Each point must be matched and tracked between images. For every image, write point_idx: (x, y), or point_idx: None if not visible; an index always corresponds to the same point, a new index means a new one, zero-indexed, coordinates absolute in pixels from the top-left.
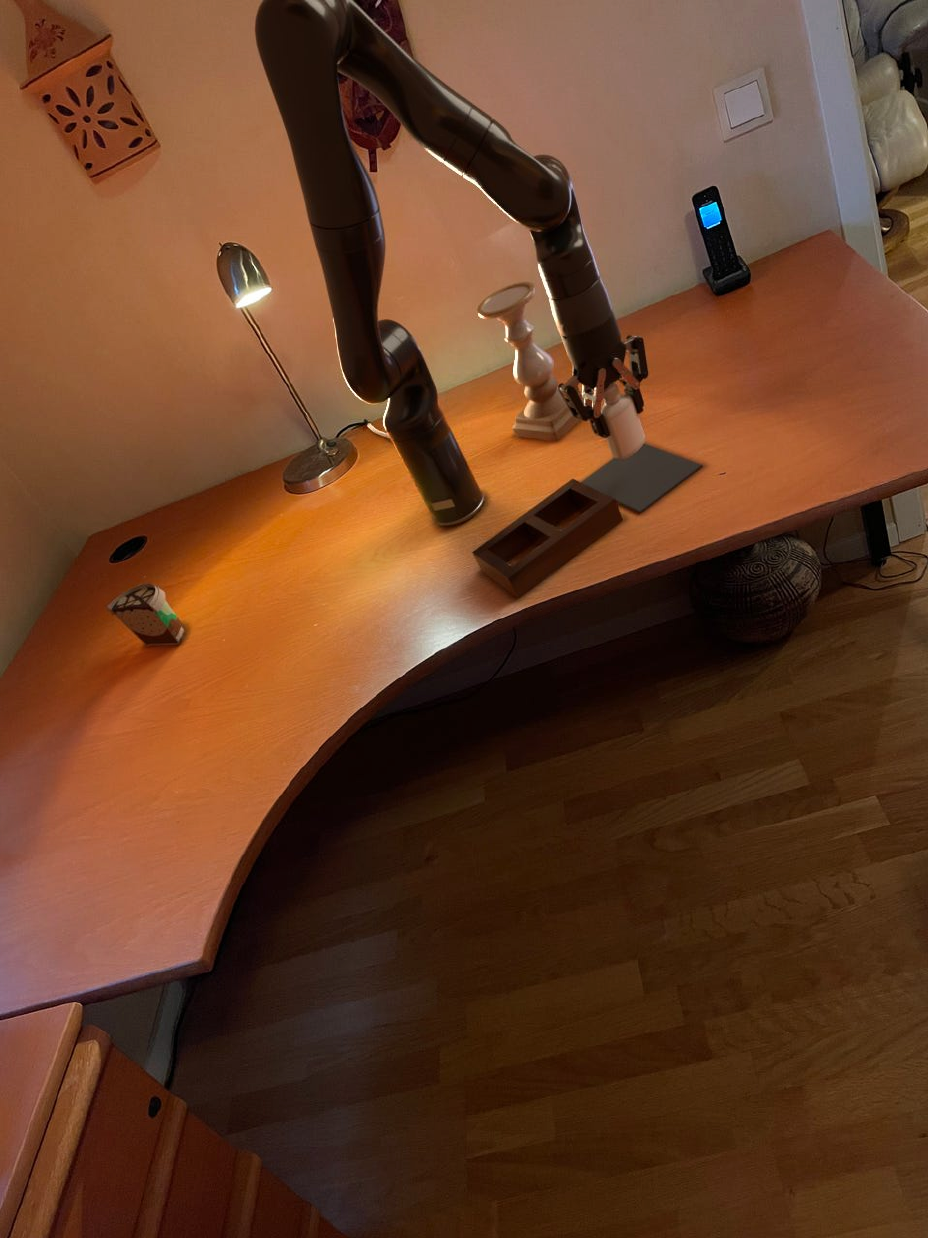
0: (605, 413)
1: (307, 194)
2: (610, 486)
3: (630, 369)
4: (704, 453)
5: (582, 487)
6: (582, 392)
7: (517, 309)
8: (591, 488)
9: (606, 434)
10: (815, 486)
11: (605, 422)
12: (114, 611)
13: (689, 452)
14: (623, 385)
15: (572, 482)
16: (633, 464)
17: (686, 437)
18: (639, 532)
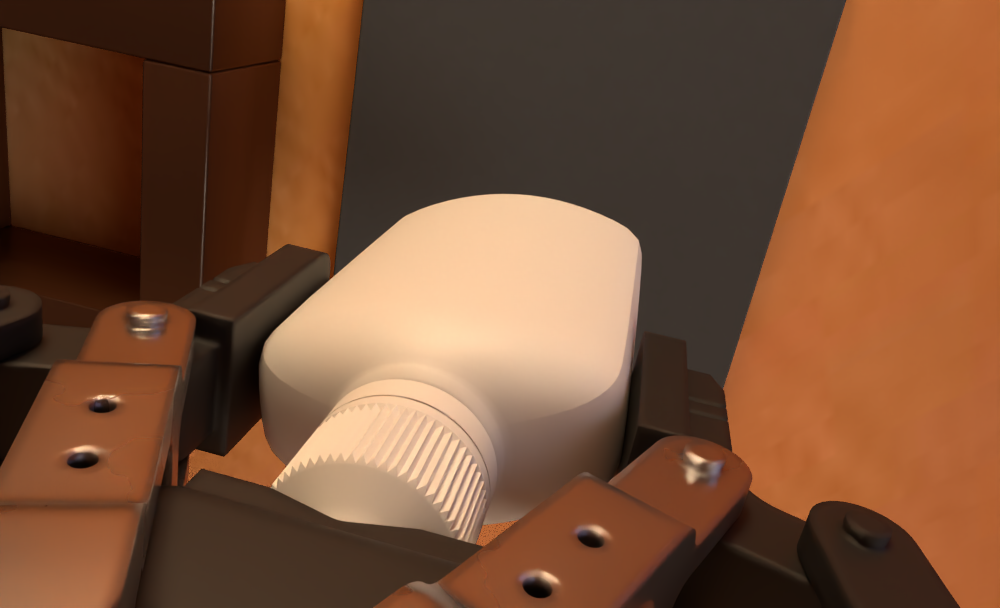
0: (272, 436)
1: None
2: (413, 119)
3: (827, 561)
4: (796, 437)
5: (180, 139)
6: (47, 376)
7: None
8: (196, 205)
9: None
10: None
11: (259, 415)
12: None
13: (794, 359)
14: (650, 450)
15: (185, 28)
16: (618, 122)
17: (933, 265)
18: (236, 447)
